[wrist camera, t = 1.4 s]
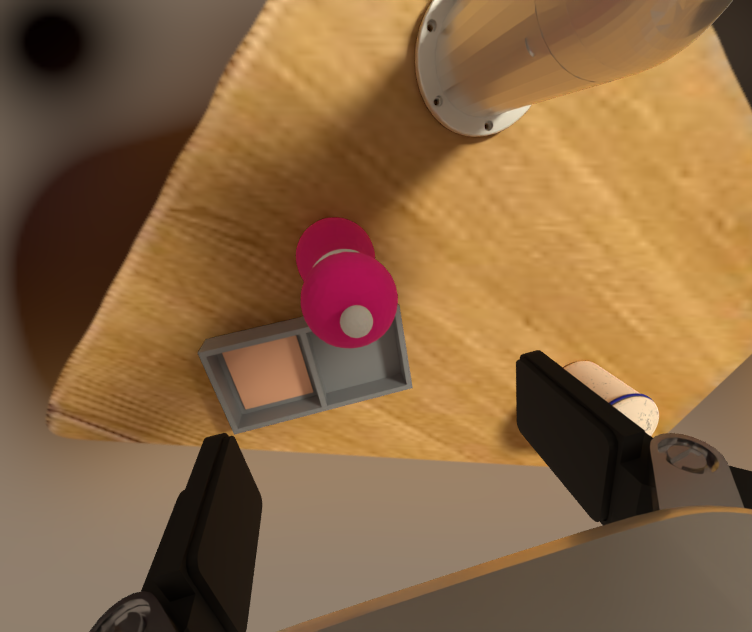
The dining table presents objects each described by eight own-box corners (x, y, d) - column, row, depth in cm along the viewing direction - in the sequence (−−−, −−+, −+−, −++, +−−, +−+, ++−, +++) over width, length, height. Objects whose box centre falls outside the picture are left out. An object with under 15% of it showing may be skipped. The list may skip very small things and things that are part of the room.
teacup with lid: (546, 365, 47) (615, 421, 37) (606, 352, 48) (690, 403, 38) (540, 433, 52) (599, 499, 42) (594, 420, 53) (666, 482, 43)
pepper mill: (300, 284, 37) (295, 395, 19) (292, 213, 34) (276, 264, 16) (368, 279, 38) (424, 379, 20) (365, 210, 35) (428, 254, 17)
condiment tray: (205, 339, 37) (197, 353, 34) (392, 295, 39) (399, 305, 36) (239, 416, 42) (234, 434, 39) (405, 373, 44) (412, 387, 41)
